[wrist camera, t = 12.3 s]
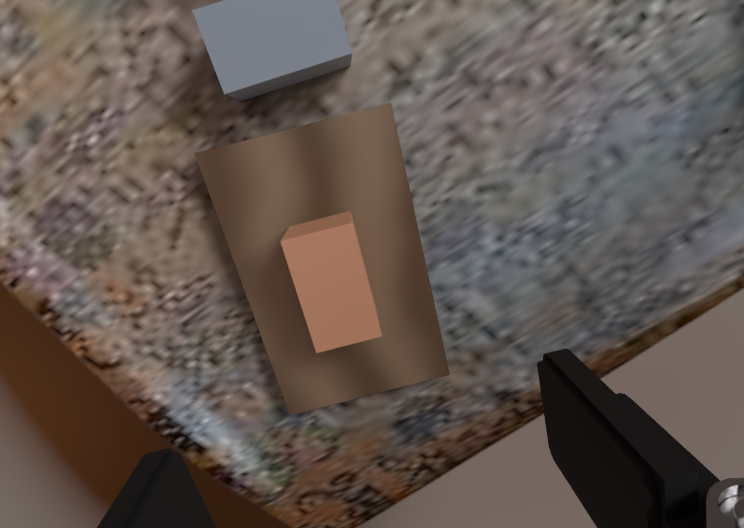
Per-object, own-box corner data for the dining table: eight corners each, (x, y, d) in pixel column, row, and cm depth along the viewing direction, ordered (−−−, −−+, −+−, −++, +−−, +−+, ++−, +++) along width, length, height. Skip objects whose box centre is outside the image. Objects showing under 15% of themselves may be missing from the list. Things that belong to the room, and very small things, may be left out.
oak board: (388, 105, 26) (390, 102, 24) (444, 363, 31) (449, 374, 30) (202, 152, 26) (194, 153, 24) (292, 403, 31) (289, 415, 30)
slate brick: (329, -6, 24) (327, -34, 20) (350, 66, 25) (352, 53, 21) (215, 31, 24) (192, 10, 20) (241, 101, 25) (224, 94, 21)
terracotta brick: (289, 226, 26) (280, 241, 22) (350, 210, 26) (352, 222, 22) (319, 324, 28) (316, 353, 24) (376, 309, 28) (382, 336, 24)
